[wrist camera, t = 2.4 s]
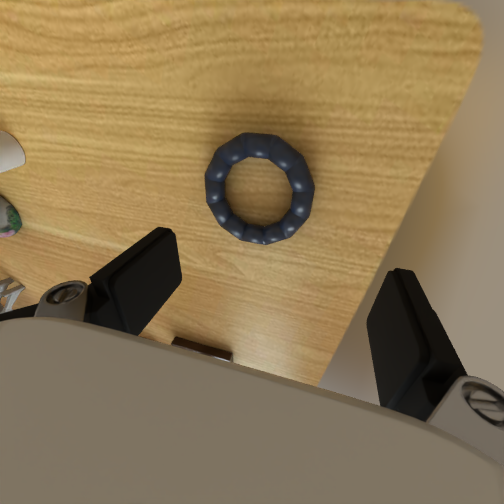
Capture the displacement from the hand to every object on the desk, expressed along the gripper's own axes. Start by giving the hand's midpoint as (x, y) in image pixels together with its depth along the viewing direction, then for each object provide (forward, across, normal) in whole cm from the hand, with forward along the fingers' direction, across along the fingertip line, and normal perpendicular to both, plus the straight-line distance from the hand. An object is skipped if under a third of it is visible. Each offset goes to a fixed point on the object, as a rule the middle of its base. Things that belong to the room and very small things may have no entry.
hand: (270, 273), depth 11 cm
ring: (+10, +3, 0) cm, 10 cm away
